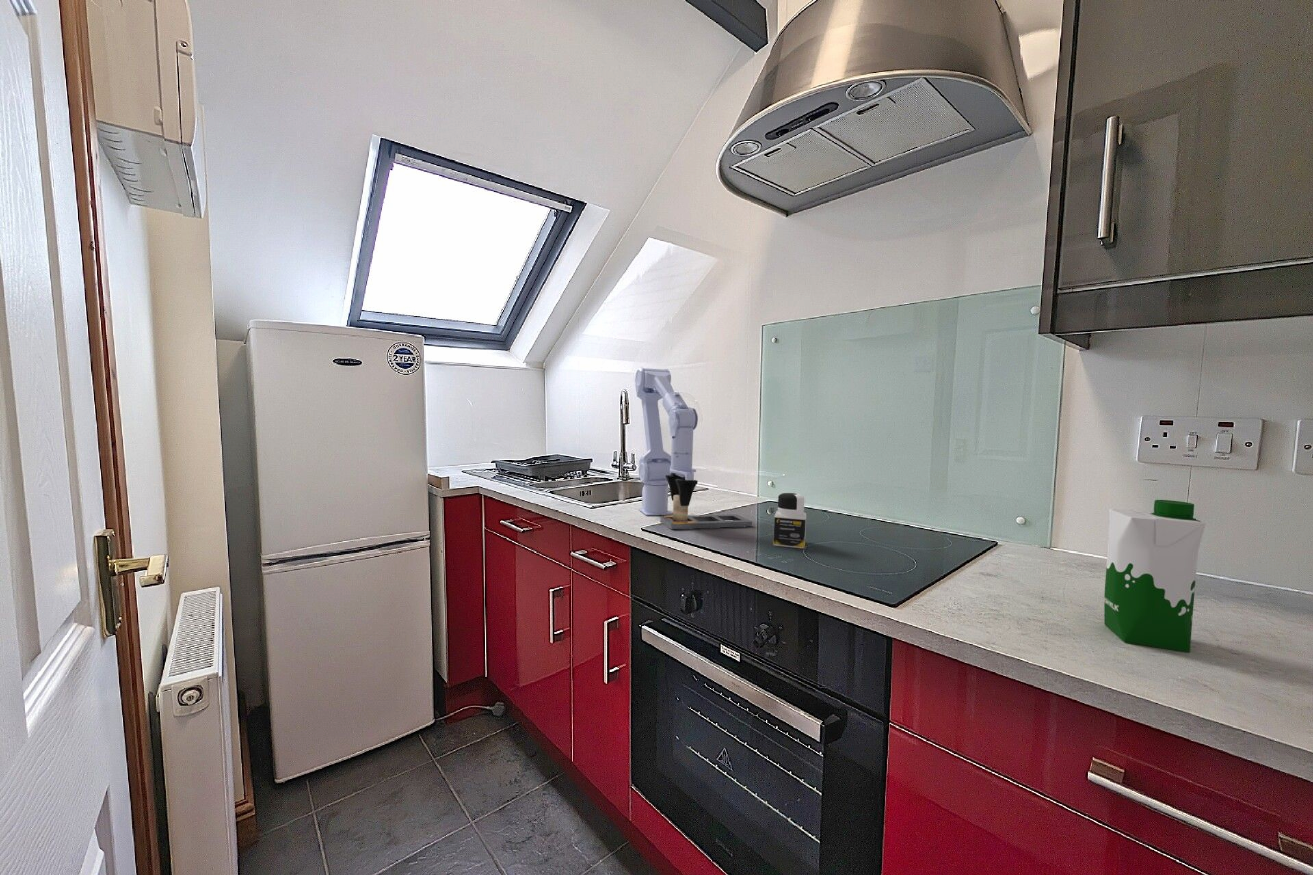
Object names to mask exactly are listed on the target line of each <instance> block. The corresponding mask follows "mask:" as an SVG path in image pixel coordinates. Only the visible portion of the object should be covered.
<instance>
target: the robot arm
mask: <svg viewBox="0 0 1313 875" xmlns="http://www.w3.org/2000/svg"><path fill="white" fill-rule="evenodd" d="M671 382H672V374H671V372H670V370H669V369H668V368H663V369H662V368H647V367H646V368H645V367H642V366H640V367H638V369H637V370H636V373H635V377H634V383H635V384H634V385H635V392H636V397H637V398H639V399H640V400H641V407H642V408H641V409H642V415H643V416H642V417H643V424H644V433H645V446H646V452H645V453H644V454H643V455H642V456H641V457H639V458H640V459H639V461H638V465H639V466H638V477H639V479H640V481H641V482H642V483H643V484H644V485H643V487H642V489H641V490H642V491H641V492H642V493H641V507H639V508H638V510H639V511H640V512H641V513H642V514H643V515H645V516H667V515H673V512H671V511H670V510H668V509H669V508H668V507H669V491H670V499H671V501H672V502H673V497H674V495H679V497H680V505H681V506H688V507H689V506H690V504H691V499H692V496H693V492H694V490H695V488H696V486H697V485H698V480H697V479H694V477H695V473H697V469H694V468H693V452H694V451H693V449H694V447H693V446H694V430H696V428H697V427H698V423H699V416H698V413H697V410H696V408H694V407H688V405H687V403H686V402H685V400H684V398H683V397H682V396H681V394H680V392H675V390H674V389H673V386H672V384H671ZM660 400H662V402H661V403H662V407H663V408H664V410H665V412H666V414H667V415H668V426H669V434H670V436H671V454H669V453H667V451H665V450H664V445H663V435H662V428H661V418H660V417H661V416H660V410H659V401H660Z"/></svg>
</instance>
